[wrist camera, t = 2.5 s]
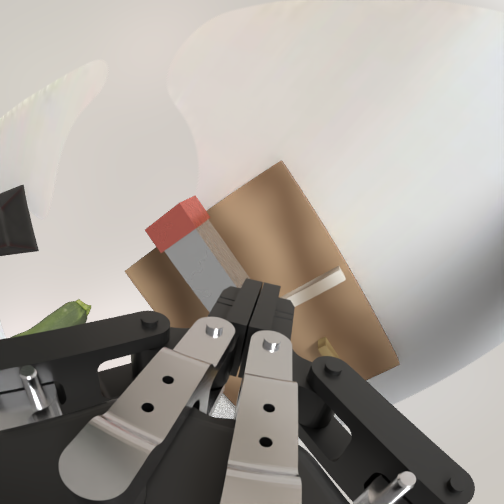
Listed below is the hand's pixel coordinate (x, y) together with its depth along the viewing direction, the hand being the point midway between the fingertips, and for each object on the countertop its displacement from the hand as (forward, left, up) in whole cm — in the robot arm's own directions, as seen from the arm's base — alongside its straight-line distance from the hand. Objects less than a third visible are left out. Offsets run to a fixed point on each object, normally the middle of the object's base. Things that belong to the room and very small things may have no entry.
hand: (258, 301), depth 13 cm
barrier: (+36, -22, -14) cm, 44 cm away
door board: (+6, +7, -14) cm, 17 cm away
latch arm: (+5, +1, -10) cm, 12 cm away
